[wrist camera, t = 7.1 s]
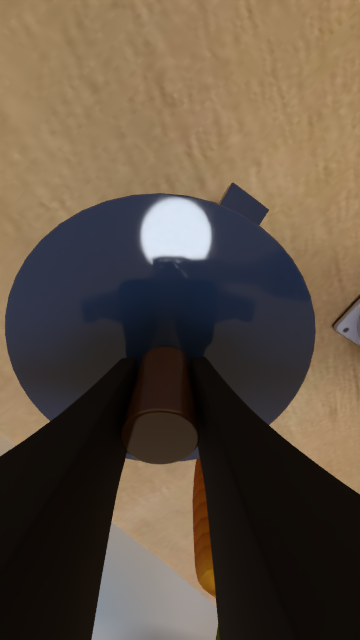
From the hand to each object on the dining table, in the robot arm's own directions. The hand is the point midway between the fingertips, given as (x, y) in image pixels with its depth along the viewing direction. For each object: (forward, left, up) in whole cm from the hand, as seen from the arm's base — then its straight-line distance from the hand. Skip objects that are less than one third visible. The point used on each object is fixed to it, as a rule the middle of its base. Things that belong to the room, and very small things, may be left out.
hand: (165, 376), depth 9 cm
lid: (0, 0, -1) cm, 1 cm away
